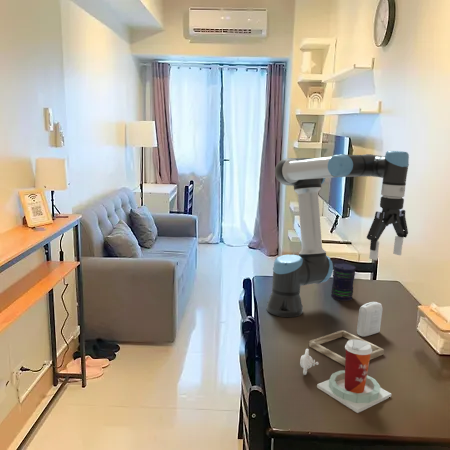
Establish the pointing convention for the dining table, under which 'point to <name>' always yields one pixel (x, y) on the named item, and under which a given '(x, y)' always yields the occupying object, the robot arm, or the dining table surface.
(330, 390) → the cup holder
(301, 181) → the robot arm
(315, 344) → the tray frame
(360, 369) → the paper cup
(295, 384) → the dining table surface
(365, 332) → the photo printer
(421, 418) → the dining table surface
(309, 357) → the ring around a ball
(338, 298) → the storage jar
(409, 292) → the dining table surface
